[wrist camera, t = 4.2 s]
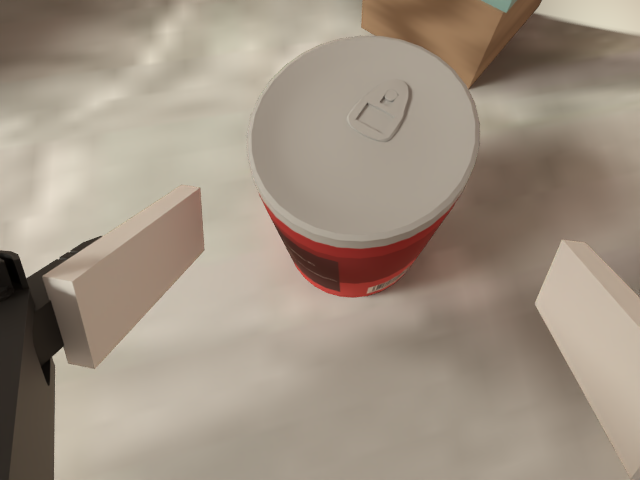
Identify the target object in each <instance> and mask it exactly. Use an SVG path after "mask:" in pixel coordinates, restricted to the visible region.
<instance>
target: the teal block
mask: <svg viewBox="0 0 640 480" xmlns="http://www.w3.org/2000/svg"><path fill="white" fill-rule="evenodd" d="M482 1H484V2H485V3H487V4H489V5H491V6H493V7H495V8H497V9H499V10H501V11H503V12H505V13H507V11H508V10H509V9H510V8H511V7H512V6H513V4H514V3H515V2H516V1H517V0H482Z"/></svg>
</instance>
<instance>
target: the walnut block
mask: <svg viewBox="0 0 640 480" xmlns="http://www.w3.org/2000/svg"><path fill="white" fill-rule="evenodd" d="M541 1H542V0H517V1H516V2H515V3H514V4H513V6H512V7H511V8H510V9H509V10H508V11H507V13H505V12H503V11H501V10H499V9H497V8H495V7H493V6H491V5H489V4H487V3H485V2H484V1H482V0H363V3H362V23H361V27H362V28H363V29H365V30H367V31H368V32H370V33H372V34H373V35H375V36H384V37H390V38H395V39H401V40H404V41H407V42H410V43H412V44H415V45H418V46H421V47H423V48H424V49H426V50H428V51H430V52H431V53H433V54H435V55H437V56H438V57H440V58H441V59H442V60H443V61H444V62H446V63H447V64H448V65H449V66H450V67H451V68H453V69H454V70H455V72H456V73H457V74H458V75H459V77H460V78H461V79H462V81H463V82H464V83H465V84H466V86H467V88H468V89H469V88H470V87H471V86H472V84H473V83H474V82H475V81H476V80H477V79H478V77H479V76H480V75H481V74H482V73H483V71H484V70H485V69H486V68H487V67H488V66H489V64H490V63H491V62H492V61H493V60H494V58H495V57H496V56H497V55H498V54H499V53H500V51H501V50H502V49H503V48H504V47H505V45H506V44H507V43H508V42H509V41H510V39H511V38H512V37H513V36H514V35H515V34H516V32H517V31H518V30H519V29H520V28H521V26H522V25H523V24H524V23H525V22H526V21H527V19H528V18H529V17H530V16H531V15H532V13H534V12H535V10H536V9H537V8H538V7H539V5H540V3H541Z"/></svg>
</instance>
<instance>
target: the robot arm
mask: <svg viewBox="0 0 640 480" xmlns="http://www.w3.org/2000/svg"><path fill="white" fill-rule="evenodd" d="M203 251H204V237H203V221H202V206H201V191H200V187H194V186H187V185H180V186H179V187H177V188H176V189H174V190H173V191H171V192H170V193H168V194H167V195H165V196H164V197H162V198H160V199H159V200H157V201H156V202H154V203H153V204H151V205H150V206H148V207H147V208H145V209H144V210H142V211H141V212H139V213H138V214H136V215H135V216H133V217H131V218H130V219H128V220H127V221H125V222H124V223H122V224H121V225H119V226H118V227H116V228H115V229H113V230H112V231H110V232H109V233H107V234H106V235H104V236H99V237H97V238H94V239H91V240H88V241H86V242H83V243H82V244H80V245H79V246H77V247H75V248H74V249H72V250H71V252H70V253H69V252H68V253H66V254H64V255H63V256H61V257H60V259H59V260H58V259H56V260H55V261H53V262H52V263H50V264H49V265H47V266H45V267H44V268H42V269H41V270H39V271H38V272H36V273H34V274H33V275H31V276H30V277H28V278H27V279H26V276H25V273H24V270H23V267H22V264H21V261H20V258H19V256H18V254H16V253H14V252H11V251H0V480H54V415H55V365H54V362H53V359H52V356H53V355H54V354H56V353H57V352H58V351H59V350H60V349H61V348H62V347H64V351H65V354H66V357H67V360H68V363H69V364H74V365H79V366H83V367H88V368H93V369H95V368H96V367H97V366H98V365H99V364H100V363H101V362H102V361H103V360H104V358H105V357H106V356H107V355H108V354H109V353H110V352H111V351H112V350H113V349H114V348H115V347H116V345H117V344H118V343H119V342H120V341H121V340H122V339H123V338H124V337H125V336H126V335H127V334H128V332H129V331H130V330H131V329H132V328H133V327H134V326H135V325H136V324H137V323H138V322H139V321H140V319H141V318H142V317H143V316H144V315H145V314H146V313H147V312H148V311H149V310H150V309H151V308H152V306H153V305H154V304H155V303H156V302H157V301H158V300H159V299H160V298H161V297H162V296H163V295H164V293H165V292H166V291H167V290H168V289H169V288H170V287H171V286H172V285H173V284H174V283H175V282H176V280H177V279H178V278H179V277H180V276H181V275H182V274H183V273H184V272H185V271H186V270H187V269H188V267H189V266H190V265H191V264H192V263H193V262H194V261H195V260H196V259H197V258H198V257H199V256H200V254H201V253H202V252H203ZM535 305H536V307H537V309H538V311H539V313H540V315H541V316H542V318H543V320H544V322H545V324H546V325H547V327H548V329H549V331H550V333H551V335H552V336H553V338H554V340H555V342H556V344H557V346H558V347H559V349H560V351H561V353H562V355H563V356H564V358H565V360H566V362H567V364H568V366H569V367H570V369H571V371H572V373H573V375H574V377H575V378H576V380H577V382H578V384H579V386H580V387H581V389H582V391H583V393H584V395H585V397H586V398H587V400H588V402H589V404H590V406H591V408H592V409H593V411H594V413H595V415H596V417H597V418H598V420H599V422H600V424H601V426H602V428H603V429H604V431H605V433H606V435H607V437H608V439H609V440H610V442H611V444H612V446H613V448H614V449H615V451H616V453H617V455H618V457H619V459H620V460H621V462H622V464H623V466H624V468H625V470H626V471H627V473H628V475H629V477H630V479H634V480H640V298H639V297H638V296H637V294H636V293H635V292H634V291H633V290H632V289H631V288H630V287H629V286H628V285H627V284H626V283H625V282H624V281H623V280H622V279H621V278H620V277H619V276H618V275H617V274H616V273H615V272H614V271H613V270H612V269H611V268H610V267H609V266H608V265H607V264H606V263H605V262H604V261H603V260H602V259H601V258H600V257H599V256H598V255H597V254H596V253H595V252H594V251H593V250H592V249H591V247H590V246H589V245H588V244H587V243H585V242H578V241H571V240H564V239H562V241H561V243H560V245H559V248H558V250H557V252H556V255H555V257H554V259H553V262H552V264H551V266H550V269H549V271H548V273H547V276H546V278H545V281H544V283H543V285H542V288H541V290H540V292H539V295H538V297H537V299H536V302H535Z"/></svg>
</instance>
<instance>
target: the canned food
mask: <svg viewBox="0 0 640 480" xmlns="http://www.w3.org/2000/svg"><path fill="white" fill-rule="evenodd" d="M479 145H480V123H479V118H478V114H477V110H476V105H475V102H474V100H473V98H472V96H471V94H470V92H469V90H468V88H467V86H466V84H465V83H464V82H463V81H462V79H461V78H460V77H459V75H458V74H457V73H456V72H455V70H454V69H453V68H451V67H450V66H449V65H448V64H447V63H446V62H444V61H443V60H442V59H441V58H440V57H438V56H437V55H435V54H433V53H431V52H430V51H428V50H426V49H424V48H423V47H421V46H418V45H415V44H412V43H410V42H407V41H404V40H401V39H395V38H390V37H384V36H355V37H348V38H341V39H337V40H334V41H331V42H327V43H324V44H321V45H319V46H316V47H314V48H312V49H310V50H308V51H306V52H304V53H302V54H301V55H299V56H298V57H296V58H295V59H293V60H292V61H291V62H289V63H288V64H286V65H285V66H284V67H283V68H282V69H281V70H280V71H279V72H278V73H277V74H276V75H275V76H274V77H273V78H272V79H271V80H270V81H269V83H268V84H267V86H266V87H265V89H264V90H263V92H262V93H261V94H260V96H259V98H258V100H257V102H256V105H255V107H254V109H253V112H252V114H251V117H250V122H249V127H248V132H247V156H248V160H249V164H250V168H251V173H252V177H253V181H254V184H255V186H256V188H257V190H258V192H259V195H260V197H261V199H262V201H263V203H264V205H265V207H266V209H267V211H268V213H269V215H270V217H271V219H272V221H273V223H274V225H275V227H276V229H277V231H278V233H279V235H280V236H281V238H282V240H283V242H284V244H285V246H286V248H287V250H288V252H289V254H290V256H291V258H292V260H293V261H294V263H295V265H296V267H297V269H298V270H299V271H300V273H301V274H302V275H303V276H304V278H305V279H307V280H308V281H309V282H310V283H311V284H313V285H314V286H315V287H317V288H319V289H321V290H323V291H325V292H327V293H330V294H333V295H337V296H341V297H362V296H369V295H372V294H375V293H378V292H381V291H382V290H384V289H386V288H388V287H389V286H391V285H393V284H394V283H395V282H396V281H398V280H399V279H400V278H401V277H402V276H403V275H404V274H405V273H406V272H407V270H408V269H409V268H410V266H411V265H412V264H413V262H414V261H415V259H416V258H417V257H418V255H419V254H420V253H421V251H422V250H423V248H424V247H425V246H426V244H427V243H428V241H429V240H430V239H431V237H432V236H433V234H434V233H435V232H436V230H437V229H438V227H439V226H440V225H441V223H442V222H443V220H444V219H445V218H446V216H447V215H448V213H449V212H450V211H451V209H452V208H453V206H454V204H455V202H456V201H457V200H458V198H459V197H460V195H461V194H462V192H463V190H464V188H465V186H466V184H467V182H468V179H469V177H470V175H471V173H472V170H473V168H474V166H475V162H476V158H477V154H478V149H479Z"/></svg>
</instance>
